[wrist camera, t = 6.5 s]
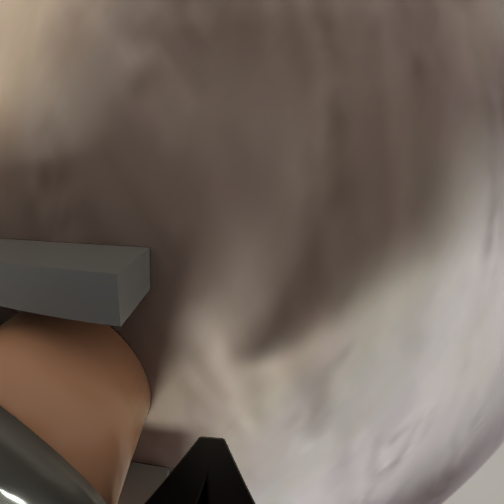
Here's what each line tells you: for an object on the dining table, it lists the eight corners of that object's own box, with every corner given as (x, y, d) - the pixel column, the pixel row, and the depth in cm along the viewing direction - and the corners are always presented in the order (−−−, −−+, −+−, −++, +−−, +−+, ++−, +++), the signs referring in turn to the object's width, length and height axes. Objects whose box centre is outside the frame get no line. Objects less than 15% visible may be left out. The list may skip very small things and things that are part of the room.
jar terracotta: (160, 450, 10) (131, 573, 5) (31, 418, 10) (-29, 504, 5) (146, 309, 9) (56, 452, 3) (-5, 287, 9) (-116, 356, 3)
